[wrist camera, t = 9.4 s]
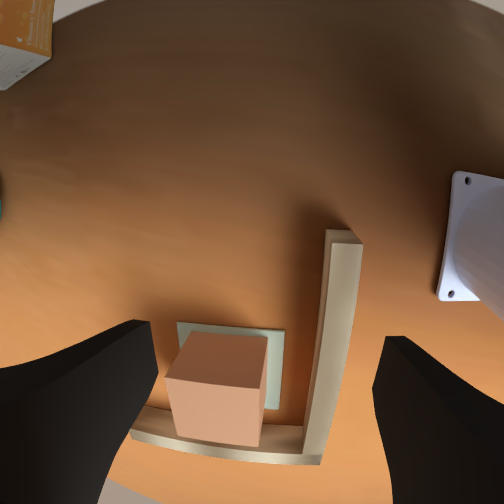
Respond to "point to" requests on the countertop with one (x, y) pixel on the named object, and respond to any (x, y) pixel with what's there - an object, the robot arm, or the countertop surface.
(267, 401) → the pad
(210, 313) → the countertop surface
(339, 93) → the countertop surface
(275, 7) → the countertop surface
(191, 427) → the cube
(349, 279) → the l-shaped wall
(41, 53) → the small box
